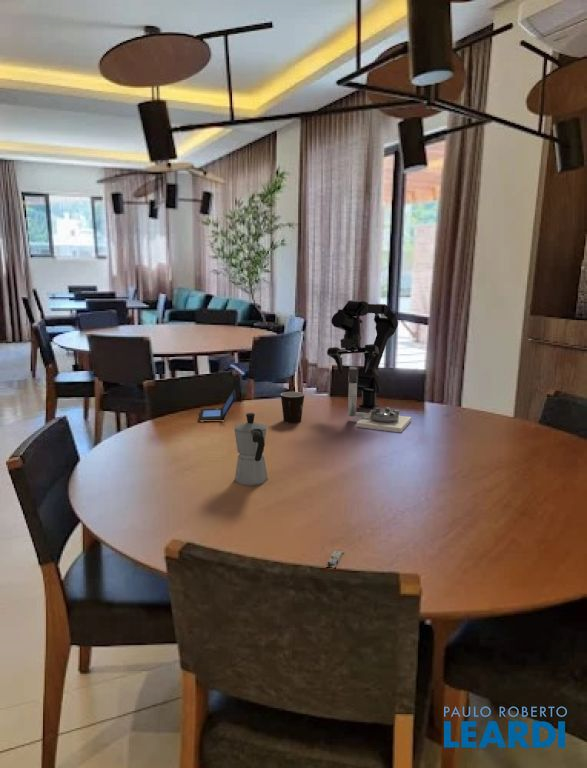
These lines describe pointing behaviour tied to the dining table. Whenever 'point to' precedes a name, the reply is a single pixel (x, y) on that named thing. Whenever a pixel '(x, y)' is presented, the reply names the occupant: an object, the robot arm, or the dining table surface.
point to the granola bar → (334, 558)
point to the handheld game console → (218, 410)
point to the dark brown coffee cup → (292, 406)
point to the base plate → (384, 424)
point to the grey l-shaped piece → (374, 414)
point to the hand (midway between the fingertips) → (352, 373)
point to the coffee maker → (250, 452)
